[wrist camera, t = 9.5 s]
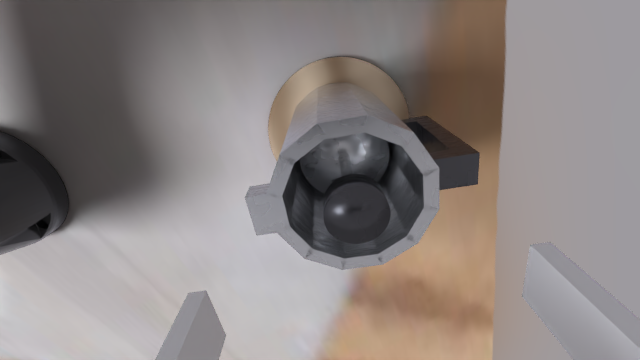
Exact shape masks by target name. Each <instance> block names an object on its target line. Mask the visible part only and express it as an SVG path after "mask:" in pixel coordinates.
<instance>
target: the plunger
mask: <svg viewBox="0 0 640 360" xmlns="http://www.w3.org/2000/svg"><path fill="white" fill-rule="evenodd" d="M388 159H389V148H388V143H387V141H386V140H384V139H381V138H378V137H376V136H373V135H370V134H368V133H359V134H353V135H347V136H341V137H335V138H329V139H324V140H323V141H322V142H320V143H319V144H318V145H317V146H315V147H314V148H313V149H311V150H310V151H309V152H308V153H306V154H305V155H304V156H303V157H301V158H300V165H301V168H302V171H303V173H304V175H305V177H306V179H307V180H308V181H309V183H310V184H311V185H312V186H313V187H315V188H316V189H317V190H319V191H321V192H323V193H325V194H324V198H323V218H324V224H325V226H326V229H327V230H328V232H329V233H330V234H331V235H332V236H333V237H335V238H336V239H338V240H340V241H342V242H345V243H350V244H361V243H366V242H369V241H371V240H373V239H375V238H377V237H378V236H380V235H381V234H382V233H383V232H384V230H385V229H386V228H387V226H388V224H389V221H390V216H391V211H390V207H389V204H388V201H387V199H386V197H385V194H384V192H383V190H382V188H381V186H380V185H379V184H378V183H377V182H378V181H379V180H380V178H381V177H382V176H383V174H384V172H385V170H386V168H387V164H388Z"/></svg>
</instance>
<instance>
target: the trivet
mask: <svg viewBox="0 0 640 360" xmlns="http://www.w3.org/2000/svg"><path fill="white" fill-rule="evenodd" d="M344 82H347V83H350V84H354V85H357V86H359V87H362V88H364V89H365V90H368V91H370V92H372V93H374V94H375V95H376V96H377V97H378V98H379V99H380V100H381V101H382V102H383V103H384V104H385V105H386V106H387V107H388V108H389V109H390V110H391V111H392V112H393V113H394V114H395V115H396V116H397V117H398V118H399V119H400V120H403V119H409V111H408V107H407V104H406V101H405V99H404V96H403V94H402V92H401V91H400V89H399V87H398V86H397V85H396V83H395V82H394V81H393V80H392V78H390V77H389V76H388V75H387V74H386V73H385V72H384V71H382V70H381V69H379V68H378V67H376V66H374V65H372V64H370V63H368V62H366V61H363V60H360V59H356V58H350V57H331V58H325V59H321V60H318V61H315V62H313V63H310V64H308V65H306V66H305V67H303V68H301V69H300V70H298V71H297V72H296V73H295V74H293V75H292V76H291V77H290V78H289V79H288V80H287V81H286V82H285V84H284V85H283V86H282V88H281V89H280V90H279V92H278V94H277V96H276V98H275V100H274V102H273V105H272V107H271V111H270V116H269V124H268V132H269V140H270V145H271V148H272V151H273V154H274V156H275V158H276V160H277V161H278V158H279V155H280V152H281V149H282V146H283V143H284V140H285V137H286V134H287V131H288V129H289V126H290V123H291V120H292V117H293V114H294V111H295V108H296V105H298V104H299V103H300V102H301V101H302V100H303V99H304V98H305V97H306V96H307V95H308V94H309V93H310V92H312V91H313V90H315V89H316V88H317V87H321V86H324V85H327V84H331V83H344Z"/></svg>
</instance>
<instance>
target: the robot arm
mask: <svg viewBox="0 0 640 360" xmlns="http://www.w3.org/2000/svg"><path fill="white" fill-rule="evenodd" d="M67 212H68V196H67V192H66V189H65V187H64V184H63V182H62V180H61V178H60V177H59V175H58V174H57V172H56V171H55V169H54V168H53V167H52V166H51V165H50V163H49V162H48V161H47V160H46V159H45V158H44V157H43V156H41V155H40V154H39V153H38V152H37V151H36V150H34V149H33V148H31V147H30V146H29V145H27V144H25V143H24V142H22V141H20V140H18V139H17V138H15V137H12V136H10V135H8V134H5V133H2V132H0V255H1V254H4V253H7V252H10V251H13V250H16V249H19V248H22V247H25V246H28V245H31V244H33V243H36V242H38V241H40V240H42V239H43V238H45V237H46V236H48V235H49V234H50V233H52V232H53V231H55V230H56V229H57V228H58V227H60V225H61V224H62V223H63V222H64V220H65V218H66V216H67ZM522 297H523V298H524V299H525V301H526V302H527V303H528V304H529V306H530V307H531V308H532V309H533V310H534V312H535V313H536V314H537V315H538V317H539V318H540V319H541V320H542V322H543V323H544V324H545V325H546V327H547V328H548V329H549V330H550V332H551V333H552V334H553V335H554V337H555V338H556V339H557V340H558V341H559V343H560V344H561V345H562V346H563V348H564V349H565V350H566V351H567V353H568V354H569V355H570V356H571V357H572V359H573V360H640V318H639V317H637V316H636V315H635V314H634V313H633V312H632V311H630V310H629V309H628V308H627V307H626V306H625V305H623V304H622V303H621V302H620V301H619V300H618V299H616V298H615V297H614V296H613V295H612V294H611V293H609V292H608V291H607V290H606V289H605V288H604V287H602V286H601V285H600V284H599V283H598V282H597V281H595V280H594V279H593V278H592V277H591V276H590V275H588V274H587V273H586V272H585V271H584V270H582V269H581V268H580V267H579V266H578V265H577V264H576V263H574V262H573V261H572V260H571V259H570V258H568V257H567V256H566V255H565V254H564V253H563V252H561V251H560V250H559V249H558V248H557V247H556V246H555V245H553V244H552V243H551V242H547V243H540V244H533V245H530V250H529V256H528V263H527V269H526V275H525V281H524V287H523V294H522ZM225 337H226V334H225V332H224V330H223V327H222V325H221V323H220V321H219V318H218V316H217V314H216V312H215V309H214V307H213V305H212V303H211V300H210V298H209V296H208V294H207V291H200V292H192V293H188V295H187V297H186V299H185V301H184V303H183V305H182V307H181V309H180V311H179V313H178V315H177V317H176V319H175V321H174V323H173V325H172V327H171V329H170V331H169V333H168V335H167V337H166V339H165V341H164V343H163V345H162V347H161V349H160V351H159V353H158V355H157V357H156V359H155V360H219V357H220V353H221V350H222V347H223V343H224V340H225Z"/></svg>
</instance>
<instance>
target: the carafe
mask: <svg viewBox="0 0 640 360" xmlns="http://www.w3.org/2000/svg"><path fill="white" fill-rule="evenodd" d="M359 133H368V134H370V135H373V136H376V137H378V138H381V139H384V140H386V141H387V143H388V148H389V159H388V164H387V168H386V170H385V172H384V174H383V176H382V177H381V178H380V180H379V181H378V182H377V183H378V184H379V185H380V186H381V188H382V190H383V192H384V194H385V197H386V199H387V201H388V204H389V207H390V211H391V216H390V221H389V224H388V226H387V228H386V229H385V230H384V232H383V233H382V234H381V235H380V236H378V237H377V238H375V239H373V240H371V241H369V242H366V243H361V244H350V243H345V242H342V241H340V240H338V239H336V238H335V237H333V236H332V235H331V234H330V233H329V232H328V230H327V229H326V226H325V224H324V218H323V198H324V194H325V193H323V192H321V191H319V190H317V189H316V188H315V187H313V186H312V185H311V184H310V183H309V181H308V180H307V179H306V177H305V175H304V173H303V171H302V168H301V165H300V158H301V157H303V156H304V155H305V154H306V153H308V152H309V151H310V150H311V149H313V148H314V147H315V146H317V145H318V144H319V143H320V142H322V141H323V140H324V139H329V138H335V137H341V136H347V135H353V134H359ZM478 169H479V152H478V151H476V150H475V149H473V148H472V147H471V146H469V145H468V144H466V143H465V142H463V141H462V140H461V139H459V138H458V137H456V136H455V135H453V134H452V133H450V132H449V131H448V130H446V129H445V128H443V127H442V126H440V125H439V124H438V123H436V122H435V121H433V120H432V119H430V118H429V117H428V116H422V117H415V118H409V119H403V120H400V119H399V118H398V117H397V116H396V115H395V114H394V113H393V112H392V111H391V110H390V109H389V108H388V107H387V106H386V105H385V104H384V103H383V102H382V101H381V100H380V99H379V98H378V97H377V96H376V95H375V94H374V93H372V92H370V91H368V90H365V89H364V88H362V87H359V86H357V85H354V84H350V83H347V82H344V83H331V84H327V85H324V86H321V87H317V88H316V89H315V90H313V91H312V92H310V93H309V94H308V95H307V96H306V97H305V98H304V99H303V100H302V101H301V102H300V103H299V104H298V105H296V108H295V111H294V114H293V117H292V120H291V123H290V126H289V129H288V131H287V134H286V137H285V140H284V143H283V146H282V149H281V152H280V155H279V158H278V161H277V164H276V167H275V170H274V173H273V176H272V179H271V181H270V184H263V185H257V186H250V188H249V190H248V192H247V194H246V196H245V200H246V203H247V206H248V209H249V212H250V216H251V219H252V222H253V225H254V228H255V232H256V235H263V234H270V233H278V234H279V235H280V236H281V237H282V238H283V239H284V240H285V241H286V242H287V243H288V244H290V245H291V246H292V247H293V248H294V249H295V250H296V251H297V252H298V253H299V254H300V255H301V256H302V257H303V258H304V259H308V260H311V261H314V262H318V263H321V264H325V265H328V266H332V267H335V268H338V269H342V270H345V269H352V268H360V267H367V266H375V265H382V264H384V263H386V262H388V261H389V260H391V259H393V258H394V257H396V256H398V255H399V254H401V253H403V252H404V251H406V250H408V249H409V248H411V247H412V246H414V245H416V244H417V243H418V242H419V241H420V239H421V237H422V236H423V234H424V233H425V231H426V229H427V228H428V226H429V225H430V223H431V221H432V220H433V218H434V217H435V215H436V213H437V212H438V210H439V190H442V189H449V188H456V187H463V186H469V185H476V184H478Z"/></svg>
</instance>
